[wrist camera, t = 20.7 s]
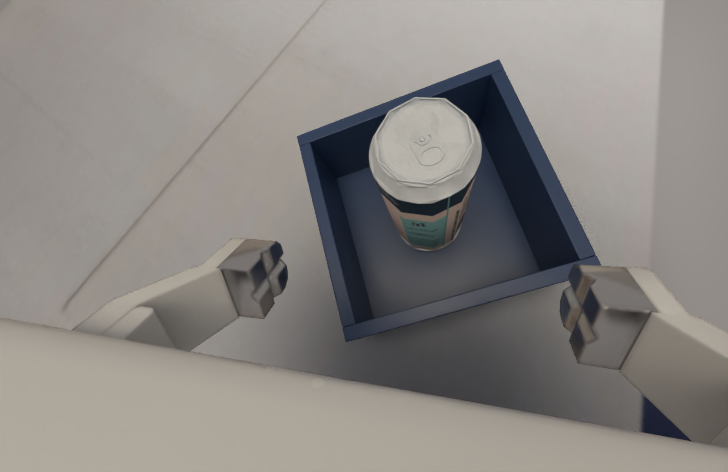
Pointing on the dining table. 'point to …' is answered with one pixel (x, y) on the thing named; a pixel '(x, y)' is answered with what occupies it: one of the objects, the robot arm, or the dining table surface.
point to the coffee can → (426, 169)
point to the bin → (479, 226)
